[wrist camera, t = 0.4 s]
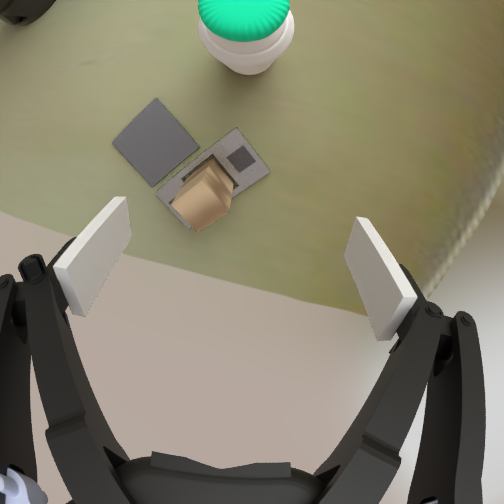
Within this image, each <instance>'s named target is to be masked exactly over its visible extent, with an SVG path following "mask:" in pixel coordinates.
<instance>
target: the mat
mask: <svg viewBox="0 0 504 504" xmlns="http://www.w3.org/2000/svg"><path fill="white" fill-rule="evenodd" d="M112 144H113V145H114V146H115V147H116V148H117V149H118V151H119V152H120V153H121V154H122V155H123V156H124V157H125V158H126V159H127V160H128V162H129V163H130V164H131V165H132V166H133V167H134V168H135V169H136V170H137V171H138V172H139V174H140V175H141V176H142V177H143V178H144V179H145V180H146V181H147V182H148V183H149V184H150V185H151V187H153V186H154V185H155V184H156V183H158V182H159V181H160V180H161V179H162V178H163V177H164V176H165V175H167V174H168V173H169V172H170V171H171V170H172V169H174V168H175V167H176V166H177V165H178V164H179V163H181V162H182V161H183V160H184V159H185V158H187V157H188V156H189V155H190V154H191V153H193V152H194V151H195V150H196V149H198V148H199V147H200V146H199V145H198V144H197V143H196V142H195V141H194V139H193V138H192V137H191V136H190V135H189V134H188V133H187V131H186V130H185V129H184V128H183V127H182V126H181V125H180V123H179V122H178V121H177V120H176V119H175V118H174V117H173V115H172V114H171V113H170V112H169V111H168V110H167V109H166V108H165V106H164V105H163V104H162V103H161V102H160V101H159V100H158V99H157V98H155V99H154V100H153V101H152V102H151V103H150V104H149V105H148V106H147V107H146V108H145V109H144V110H143V111H142V112H141V113H140V114H139V115H138V116H137V117H136V118H135V119H134V120H133V121H132V122H131V123H130V124H129V125H128V126H127V127H126V128H125V129H124V130H123V131H122V132H121V133H120V134H119V135H118V137H117V138H116V139H115V140H114V141H113V142H112Z"/></svg>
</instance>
